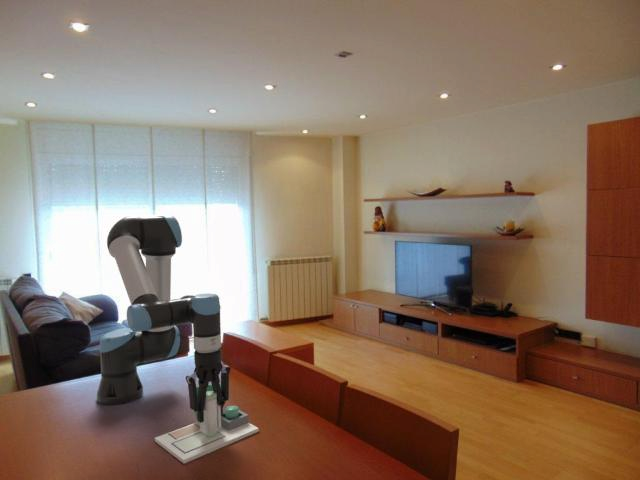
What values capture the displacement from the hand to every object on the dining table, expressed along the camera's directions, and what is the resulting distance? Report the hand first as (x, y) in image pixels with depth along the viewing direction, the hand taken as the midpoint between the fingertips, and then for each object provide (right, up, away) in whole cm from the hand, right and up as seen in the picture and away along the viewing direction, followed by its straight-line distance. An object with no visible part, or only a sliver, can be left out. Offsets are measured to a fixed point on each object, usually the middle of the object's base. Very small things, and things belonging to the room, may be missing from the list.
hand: (210, 429), depth 133 cm
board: (-1, -3, +2) cm, 3 cm away
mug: (-3, -3, +14) cm, 14 cm away
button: (+5, 0, +7) cm, 9 cm away
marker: (0, -2, 0) cm, 2 cm away
